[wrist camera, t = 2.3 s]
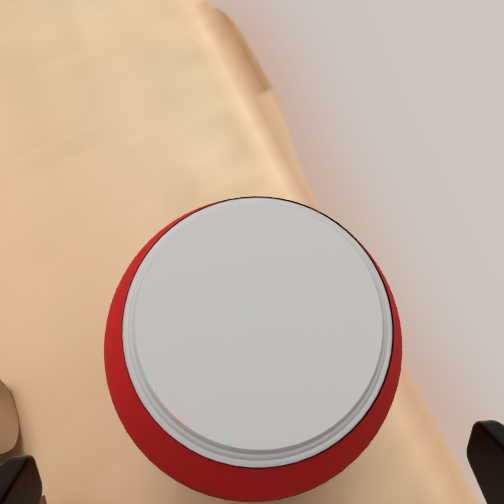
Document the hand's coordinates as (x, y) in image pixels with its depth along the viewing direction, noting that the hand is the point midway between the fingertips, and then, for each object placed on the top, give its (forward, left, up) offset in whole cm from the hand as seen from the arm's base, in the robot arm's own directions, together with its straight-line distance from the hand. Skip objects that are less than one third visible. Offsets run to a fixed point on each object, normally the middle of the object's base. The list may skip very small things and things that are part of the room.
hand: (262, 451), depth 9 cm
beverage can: (+2, -1, -10) cm, 10 cm away
